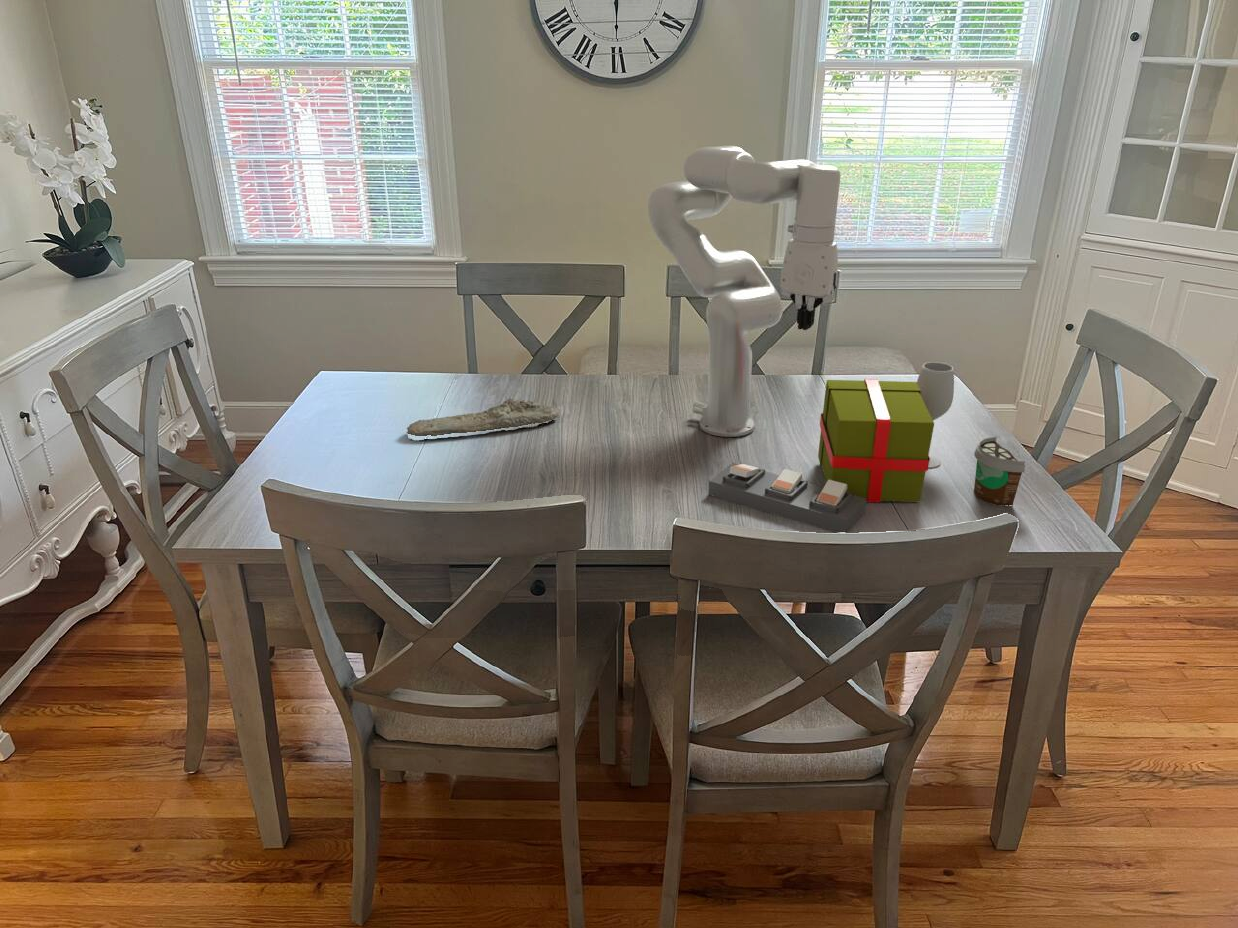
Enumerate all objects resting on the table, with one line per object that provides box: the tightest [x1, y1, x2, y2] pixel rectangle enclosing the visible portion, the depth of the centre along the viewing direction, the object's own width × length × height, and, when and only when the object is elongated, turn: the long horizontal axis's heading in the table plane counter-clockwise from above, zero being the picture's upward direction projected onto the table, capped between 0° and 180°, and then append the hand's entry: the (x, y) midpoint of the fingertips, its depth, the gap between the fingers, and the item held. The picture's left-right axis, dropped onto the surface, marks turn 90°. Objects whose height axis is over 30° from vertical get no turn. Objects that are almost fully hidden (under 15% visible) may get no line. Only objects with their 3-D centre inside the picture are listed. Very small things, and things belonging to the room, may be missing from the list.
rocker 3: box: [816, 479, 847, 507], centre depth 163 cm, size 4×6×1 cm, turn 146°
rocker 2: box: [772, 468, 803, 494], centre depth 167 cm, size 4×6×1 cm, turn 146°
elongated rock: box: [406, 397, 559, 436], centre depth 203 cm, size 35×5×10 cm
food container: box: [973, 436, 1026, 507], centre depth 170 cm, size 12×6×10 cm, turn 5°
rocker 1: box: [729, 463, 760, 477], centre depth 172 cm, size 4×6×1 cm, turn 146°
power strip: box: [708, 462, 867, 533], centre depth 169 cm, size 28×10×4 cm, turn 56°
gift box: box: [817, 378, 935, 504], centre depth 176 cm, size 21×21×25 cm
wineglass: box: [916, 361, 955, 469], centre depth 182 cm, size 8×8×21 cm
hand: (804, 328), depth 175 cm, fingers closed
